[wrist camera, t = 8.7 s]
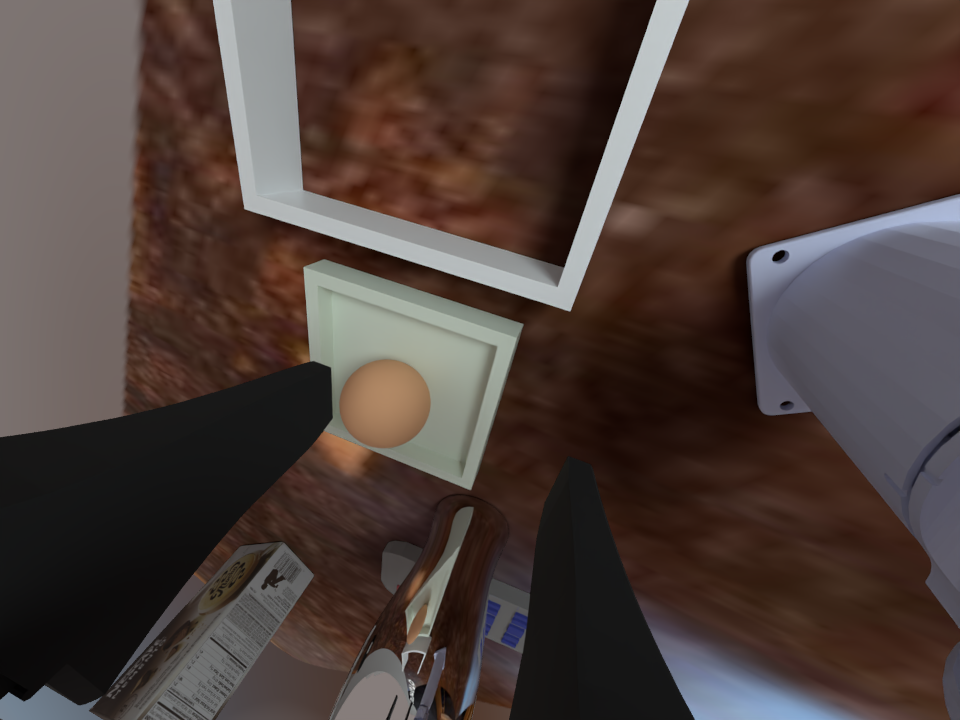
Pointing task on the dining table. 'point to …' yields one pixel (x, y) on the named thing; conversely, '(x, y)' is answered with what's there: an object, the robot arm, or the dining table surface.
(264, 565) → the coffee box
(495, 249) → the white bent bar
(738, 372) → the dining table surface
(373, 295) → the tray
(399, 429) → the ball
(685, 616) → the dining table surface
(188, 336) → the dining table surface
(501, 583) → the remote control
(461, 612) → the beer glass
